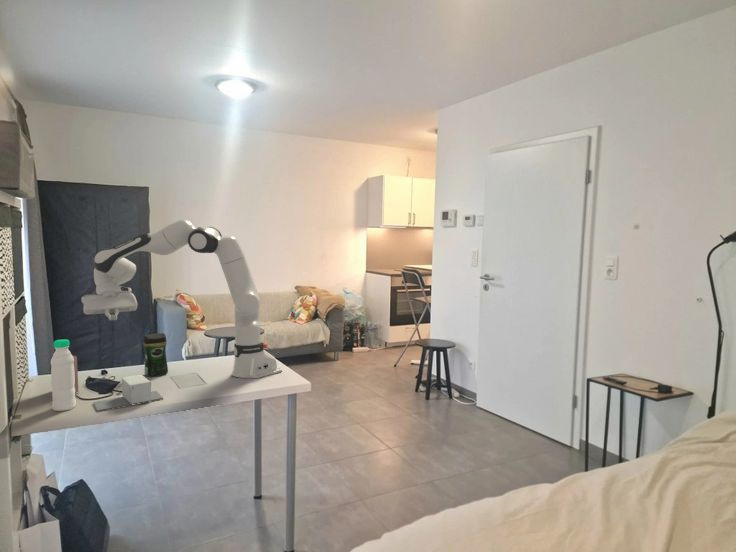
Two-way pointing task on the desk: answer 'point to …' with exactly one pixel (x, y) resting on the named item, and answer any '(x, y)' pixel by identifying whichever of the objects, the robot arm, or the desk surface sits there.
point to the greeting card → (75, 373)
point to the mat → (121, 402)
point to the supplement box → (136, 389)
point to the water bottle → (63, 377)
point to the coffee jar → (155, 354)
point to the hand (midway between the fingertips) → (113, 319)
